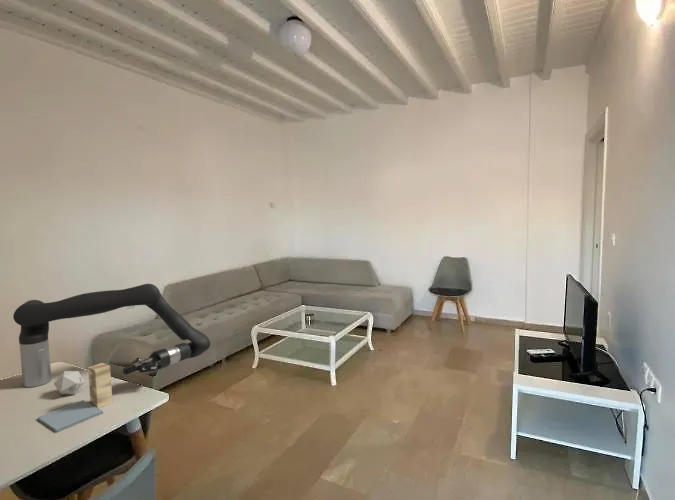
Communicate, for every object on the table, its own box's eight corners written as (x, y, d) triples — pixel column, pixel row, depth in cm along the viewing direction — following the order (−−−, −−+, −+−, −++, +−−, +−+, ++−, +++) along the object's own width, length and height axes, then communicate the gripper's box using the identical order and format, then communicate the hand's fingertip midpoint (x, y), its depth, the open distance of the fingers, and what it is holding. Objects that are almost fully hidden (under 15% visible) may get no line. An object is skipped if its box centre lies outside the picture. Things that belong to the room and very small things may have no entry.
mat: (37, 419, 132) (37, 417, 132) (83, 402, 144) (82, 400, 144) (56, 432, 125) (56, 430, 124) (103, 413, 136) (102, 410, 136)
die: (62, 402, 145) (80, 378, 147) (43, 389, 146) (62, 365, 148) (76, 400, 153) (94, 376, 155) (59, 387, 154) (76, 364, 157)
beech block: (90, 405, 142) (88, 367, 140) (105, 399, 146) (103, 362, 145) (97, 408, 139) (95, 370, 138) (112, 402, 143) (110, 365, 142)
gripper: (155, 345, 166) (114, 358, 152) (175, 351, 159) (133, 365, 145) (156, 362, 167) (115, 377, 153) (176, 369, 160) (134, 385, 146)
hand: (124, 371), depth 149 cm, fingers closed
